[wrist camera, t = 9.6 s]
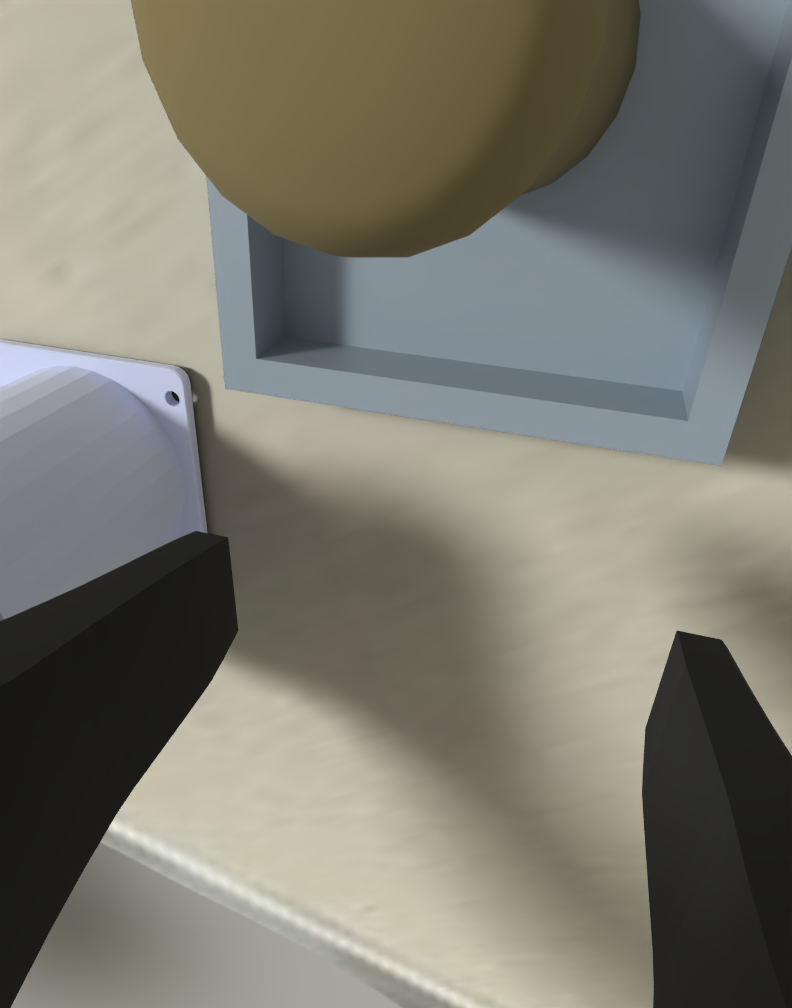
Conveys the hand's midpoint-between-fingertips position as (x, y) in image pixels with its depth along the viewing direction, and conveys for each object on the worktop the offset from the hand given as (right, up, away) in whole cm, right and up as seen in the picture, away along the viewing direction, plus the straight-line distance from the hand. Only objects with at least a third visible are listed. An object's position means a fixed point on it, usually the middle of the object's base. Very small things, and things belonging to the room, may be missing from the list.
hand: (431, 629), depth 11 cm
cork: (+2, +12, +4) cm, 13 cm away
